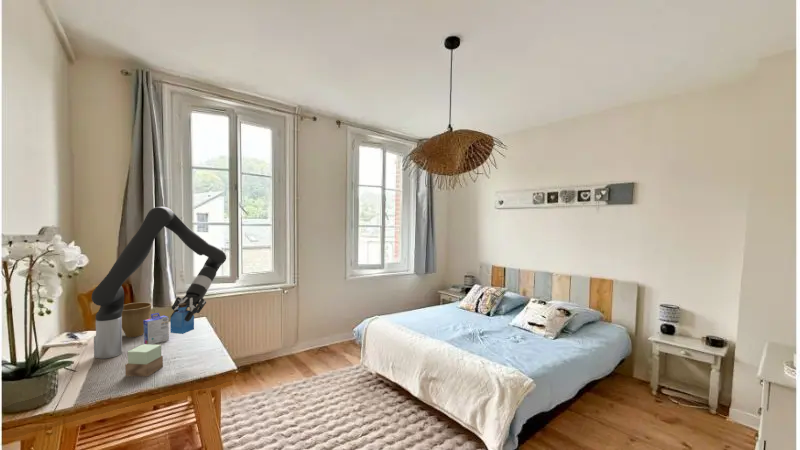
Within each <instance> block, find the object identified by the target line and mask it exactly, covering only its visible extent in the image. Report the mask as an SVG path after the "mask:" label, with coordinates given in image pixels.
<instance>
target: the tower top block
mask: <svg viewBox="0 0 800 450" xmlns="http://www.w3.org/2000/svg"><path fill="white" fill-rule="evenodd" d="M161 356H162V344H152V345H151V344H144V343H143V344H141V345H139V346H136V347H134V348H133V349H130V350H128V351H127V363H128V364H148V363H150V362H152V361H154V360H156V359H158V358H159V357H161Z"/></svg>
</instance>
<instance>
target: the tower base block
mask: <svg viewBox="0 0 800 450" xmlns="http://www.w3.org/2000/svg"><path fill="white" fill-rule="evenodd" d="M163 361H164V356H163V355H161V357H159V358H158V359H156V360H154V361H152V362H150V363H148V364H128V362H127V363H126V364H125V365H124V366H125V372H124V373H125V377H149V376H151V375H153V374H155V372H156V371H159V369H161V368H163V367H164V362H163Z"/></svg>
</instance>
